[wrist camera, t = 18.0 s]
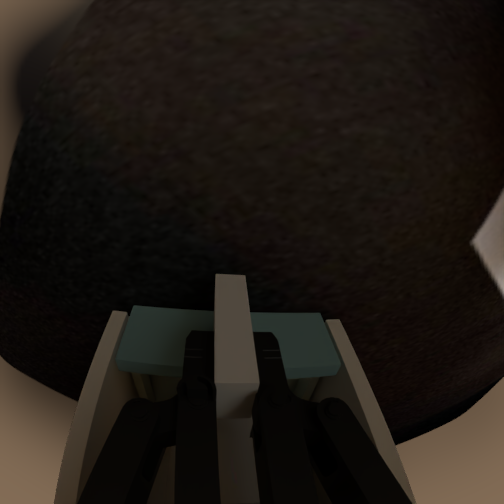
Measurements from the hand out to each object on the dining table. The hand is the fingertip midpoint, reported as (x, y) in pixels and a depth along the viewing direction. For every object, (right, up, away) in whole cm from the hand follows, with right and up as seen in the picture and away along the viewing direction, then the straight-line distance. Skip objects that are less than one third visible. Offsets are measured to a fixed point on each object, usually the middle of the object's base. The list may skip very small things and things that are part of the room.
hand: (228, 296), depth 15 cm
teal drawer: (-1, -7, +6) cm, 9 cm away
